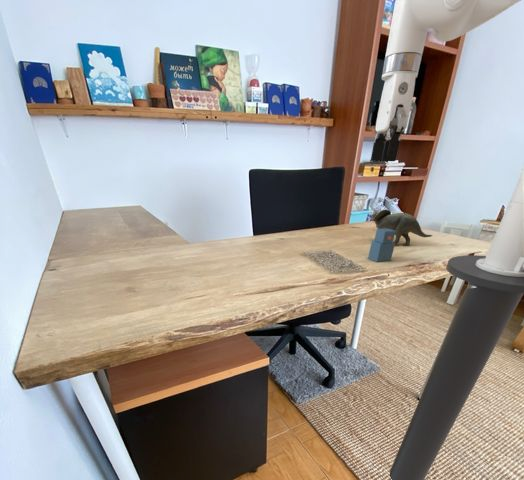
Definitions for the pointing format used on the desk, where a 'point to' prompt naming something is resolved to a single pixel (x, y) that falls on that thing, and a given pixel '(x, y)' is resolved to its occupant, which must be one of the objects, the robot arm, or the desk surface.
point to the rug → (334, 261)
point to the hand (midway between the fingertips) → (382, 161)
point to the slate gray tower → (382, 245)
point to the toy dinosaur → (397, 224)
